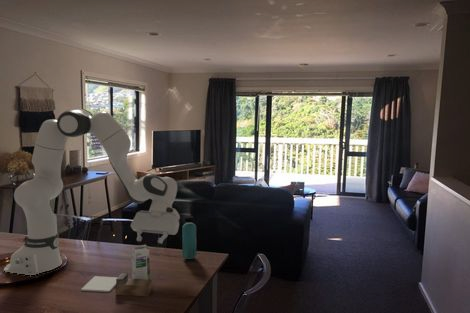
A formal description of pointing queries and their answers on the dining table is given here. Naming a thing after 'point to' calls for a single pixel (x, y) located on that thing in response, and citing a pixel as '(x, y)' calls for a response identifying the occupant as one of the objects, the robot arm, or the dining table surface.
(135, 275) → the syrup box
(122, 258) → the dining table surface
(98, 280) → the felt pad
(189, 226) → the beverage bottle
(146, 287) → the brown wooden block
